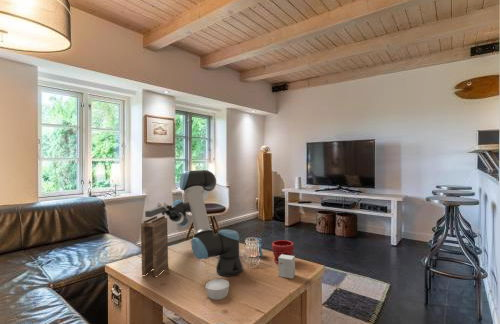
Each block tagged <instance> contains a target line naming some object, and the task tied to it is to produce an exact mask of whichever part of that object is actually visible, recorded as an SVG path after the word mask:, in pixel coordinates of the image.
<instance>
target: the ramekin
mask: <svg viewBox="0 0 500 324" xmlns="http://www.w3.org/2000/svg"><path fill="white" fill-rule="evenodd" d="M229 288H230V282H229V281H228V280H226V279H223V278H222V279H221V278H217V279H215V278H214V279H212V280H209V281H208V282H206V284H205V289H206V294H207V297H208V298H209V299H211V300H214V301H215V300H216V301H219V300H223V299H225V298H226V297H227V296H228V294H229Z"/></svg>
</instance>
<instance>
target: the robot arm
mask: <svg viewBox="0 0 500 324" xmlns="http://www.w3.org/2000/svg"><path fill="white" fill-rule="evenodd" d="M216 185H217V178H216V175H215V174H214V173H213V172H212V171H210V170H206V169H203V170H201V169H198V170H197V169H196V170H184V171H182V172H181V174H180V177H179V189H180V191H183V192H184V195H186V196H187V198H188V199H187V200H188V202H184V200H182V199H177V200H175V201H173V203H172V205H169V204H168V203H166V202H163V204H161V203H160V202H157V205H156V207H159V206H161V205H163V207H164V208H165V209H166V210H167V211H164V212H162V213H161V215H162V216H165V215H166V216H168V218H169V220H171V221H172V222H173V223H174V224H175V225H177V226H178V227H180V228H186V227H188V225H189V224H190V221H189V218H188V217H187V213H191V218H192V223H193V227H194V234H193V235H192V236H193V238H192V239H191V242H190V245H191V251H192V253H193V255H194V257H195V258H196V259H197V260H203V259H204V260H205V259H209V258H214V257H217V256H218V261H217V262H216V263H217V264H216V269H215V270H216V274H218V275H219V276H223V277H233V276H237V275H239V274H241V273H242V272H243V264H242V260H241V258H240V235H239V232H238V231H236V230H233V229H227V228H226V229H224V228H223V229H220V230H218V233H216V234H215V231H214V229H212V228H211V226H210V221H209V218H208V213H207V208H206V205H205V201H206V200H207V198H208V197H209V195H210V193H211V192H212V191H213V190H214V189H215V188H216Z"/></svg>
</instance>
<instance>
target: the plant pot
mask: <svg viewBox="0 0 500 324" xmlns="http://www.w3.org/2000/svg"><path fill="white" fill-rule="evenodd" d="M271 244H272V247H271V248H272V254H273V256H274V257H273V261H274V263H276V264H278V258H279V256H280V255H281V254H283V255H290V256H294V242H292V241H290V240H283V239H281V240H275V241H272V243H271Z"/></svg>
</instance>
